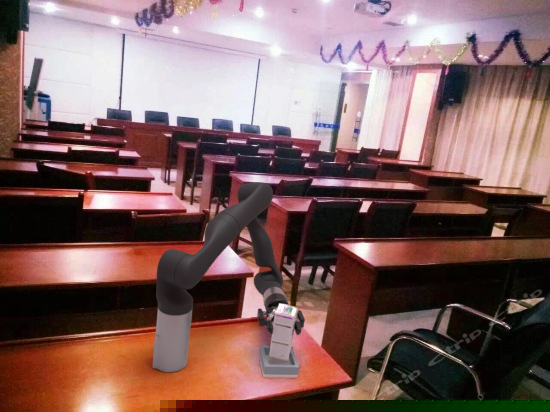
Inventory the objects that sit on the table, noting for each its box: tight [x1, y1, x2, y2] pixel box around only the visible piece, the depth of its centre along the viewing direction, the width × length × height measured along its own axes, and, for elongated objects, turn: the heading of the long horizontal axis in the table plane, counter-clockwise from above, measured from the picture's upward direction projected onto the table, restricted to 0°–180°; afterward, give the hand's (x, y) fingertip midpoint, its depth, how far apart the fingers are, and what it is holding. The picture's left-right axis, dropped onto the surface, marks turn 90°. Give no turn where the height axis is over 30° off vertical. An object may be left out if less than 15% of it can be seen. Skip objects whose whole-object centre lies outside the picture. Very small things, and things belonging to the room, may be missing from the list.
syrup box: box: [269, 303, 298, 361], centre depth 116 cm, size 6×6×14 cm
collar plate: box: [258, 345, 300, 379], centre depth 118 cm, size 10×10×4 cm
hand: (285, 331), depth 114 cm, fingers closed on syrup box, 7 cm apart
